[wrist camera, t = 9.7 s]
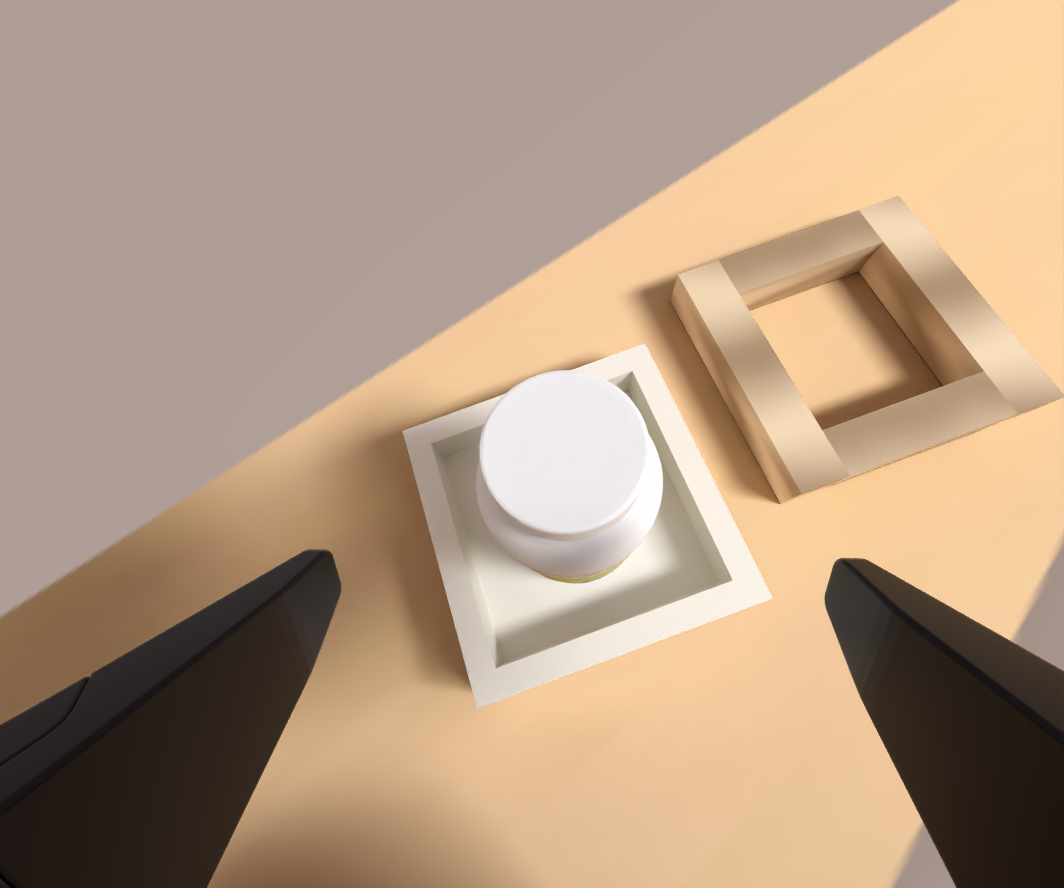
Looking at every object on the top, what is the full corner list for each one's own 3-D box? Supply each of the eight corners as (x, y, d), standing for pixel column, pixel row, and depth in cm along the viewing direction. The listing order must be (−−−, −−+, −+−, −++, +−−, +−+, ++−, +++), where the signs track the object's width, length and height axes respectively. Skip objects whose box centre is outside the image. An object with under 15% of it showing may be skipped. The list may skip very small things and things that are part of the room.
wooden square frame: (1019, 415, 20) (1065, 396, 18) (780, 504, 20) (801, 493, 18) (873, 228, 24) (898, 195, 22) (670, 300, 24) (677, 274, 22)
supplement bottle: (532, 443, 21) (495, 319, 12) (651, 477, 20) (712, 371, 11) (490, 560, 20) (413, 522, 11) (617, 604, 19) (655, 603, 10)
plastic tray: (748, 599, 19) (772, 598, 17) (490, 695, 19) (477, 708, 16) (638, 370, 23) (644, 343, 20) (421, 449, 22) (402, 430, 20)
